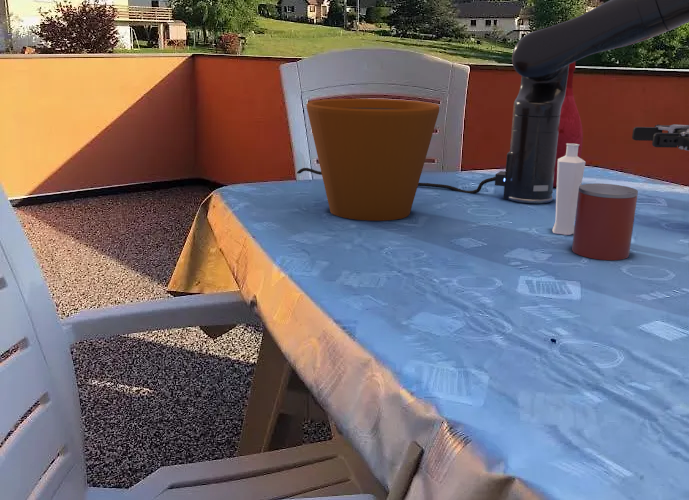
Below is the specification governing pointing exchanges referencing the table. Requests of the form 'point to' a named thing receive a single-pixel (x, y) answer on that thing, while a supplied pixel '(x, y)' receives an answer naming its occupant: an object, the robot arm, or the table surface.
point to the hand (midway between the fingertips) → (643, 136)
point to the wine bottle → (568, 123)
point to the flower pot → (371, 153)
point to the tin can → (604, 221)
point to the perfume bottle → (568, 189)
